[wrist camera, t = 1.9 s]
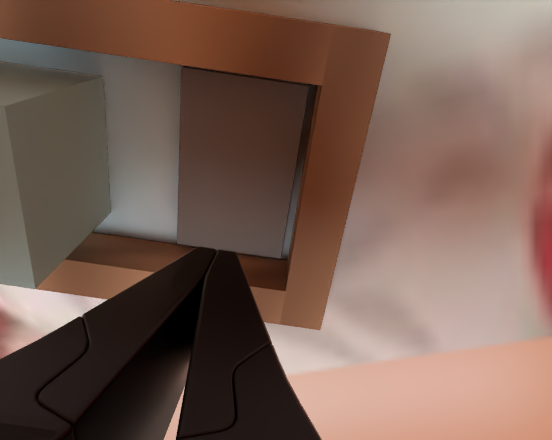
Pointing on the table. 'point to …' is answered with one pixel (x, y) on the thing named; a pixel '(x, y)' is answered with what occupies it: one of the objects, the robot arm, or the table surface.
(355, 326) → the table surface
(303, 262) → the channel
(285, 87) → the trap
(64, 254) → the block
